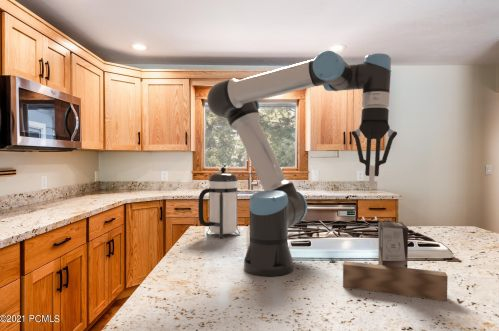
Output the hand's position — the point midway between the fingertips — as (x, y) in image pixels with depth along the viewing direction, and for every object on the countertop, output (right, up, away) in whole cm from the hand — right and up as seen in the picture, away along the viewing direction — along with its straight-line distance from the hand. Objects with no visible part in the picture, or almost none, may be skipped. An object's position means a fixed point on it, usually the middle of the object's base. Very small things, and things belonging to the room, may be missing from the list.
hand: (371, 187), depth 101 cm
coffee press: (-49, -24, +46) cm, 72 cm away
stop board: (0, -26, -15) cm, 30 cm away
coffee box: (+2, -26, -9) cm, 28 cm away
